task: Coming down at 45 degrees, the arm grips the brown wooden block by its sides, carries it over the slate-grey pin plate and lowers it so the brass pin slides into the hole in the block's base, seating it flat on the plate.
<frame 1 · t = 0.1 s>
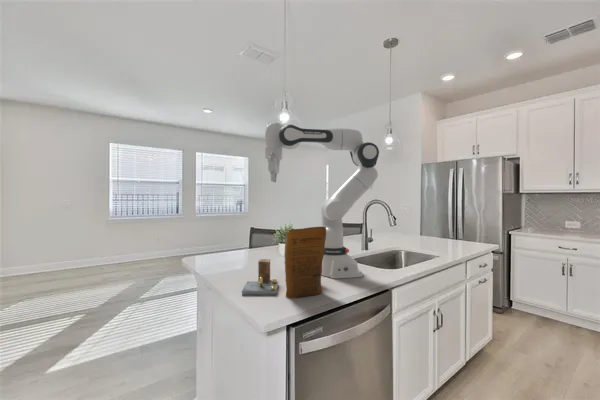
hand: (273, 181, 142), 48 cm above the countertop, tool pointing down, fingers open, 8 cm apart
pancake mix bag: (305, 295, 112), on the countertop
pin plate: (261, 290, 118), on the countertop
brown wooden block: (264, 281, 130), on the countertop
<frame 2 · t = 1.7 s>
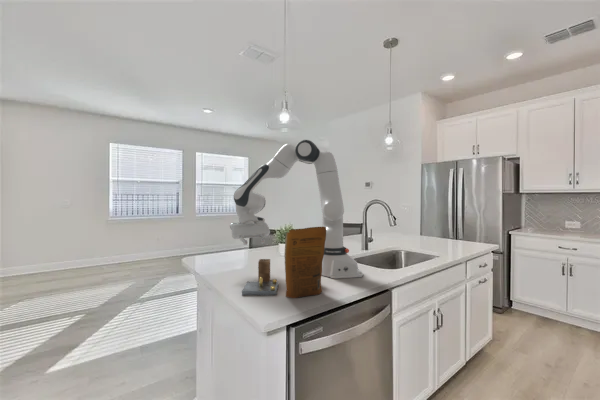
hand: (254, 243, 141), 16 cm above the countertop, tool tilted 45°, fingers open, 8 cm apart
nothing on the countertop moved.
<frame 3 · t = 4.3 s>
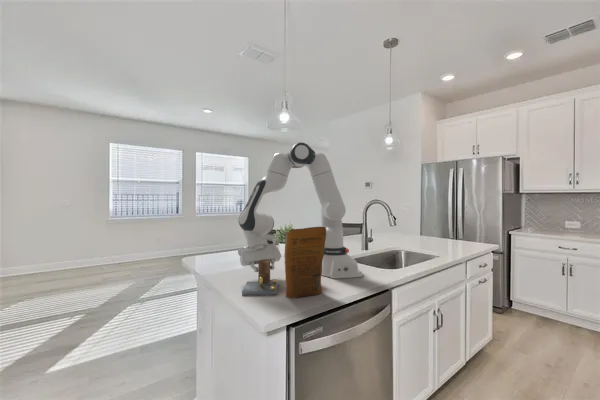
hand: (264, 270, 130), 5 cm above the countertop, tool tilted 45°, fingers closed on brown wooden block, 7 cm apart
brown wooden block: (264, 281, 130), on the countertop, touching gripper
everything else where it was.
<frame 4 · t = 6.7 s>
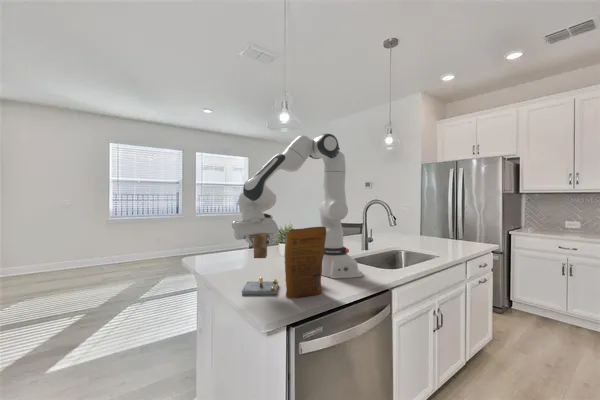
hand: (261, 244, 118), 20 cm above the countertop, tool tilted 45°, fingers closed on brown wooden block, 7 cm apart
brown wooden block: (260, 256, 119), point 14 cm above the countertop, touching gripper
everything else where it was.
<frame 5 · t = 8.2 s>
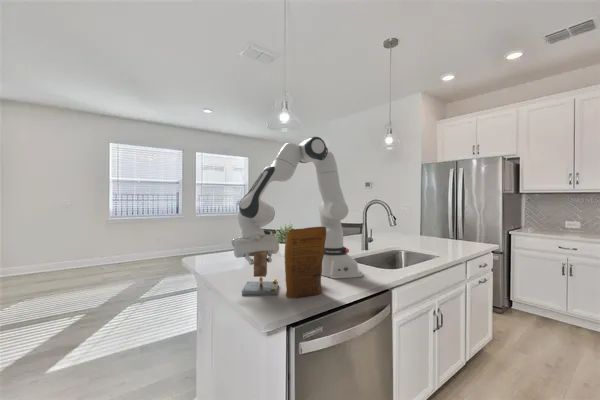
hand: (261, 262, 118), 12 cm above the countertop, tool tilted 45°, fingers closed on brown wooden block, 7 cm apart
brown wooden block: (260, 274, 118), point 7 cm above the countertop, touching gripper
everything else where it was.
when the fingers open (9 cm above the countertop, at t = 9.4 s): brown wooden block drops 1 cm, resting on pin plate.
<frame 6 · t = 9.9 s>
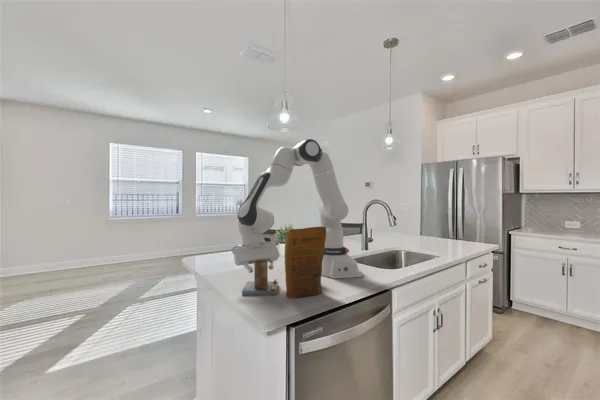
hand: (261, 270, 118), 9 cm above the countertop, tool tilted 45°, fingers open, 8 cm apart
brown wooden block: (261, 285, 118), point 2 cm above the countertop, touching pin plate
everything else where it was.
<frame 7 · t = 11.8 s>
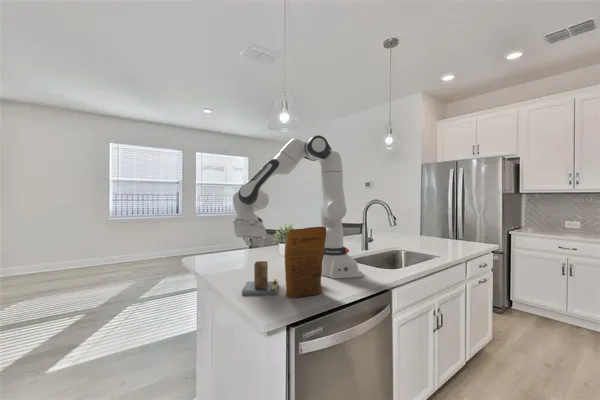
hand: (255, 245, 132), 17 cm above the countertop, tool tilted 35°, fingers open, 8 cm apart
nothing on the countertop moved.
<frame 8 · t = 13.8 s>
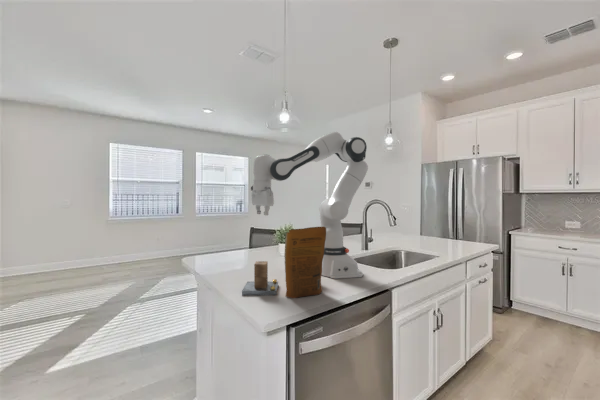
hand: (262, 214, 138), 31 cm above the countertop, tool pointing down, fingers open, 8 cm apart
nothing on the countertop moved.
at the end: brown wooden block 0.1 cm off-centre on the pin plate, point 1.8 cm above the pin plate's base; brown wooden block tilted 0°; the gripper is holding nothing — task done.
